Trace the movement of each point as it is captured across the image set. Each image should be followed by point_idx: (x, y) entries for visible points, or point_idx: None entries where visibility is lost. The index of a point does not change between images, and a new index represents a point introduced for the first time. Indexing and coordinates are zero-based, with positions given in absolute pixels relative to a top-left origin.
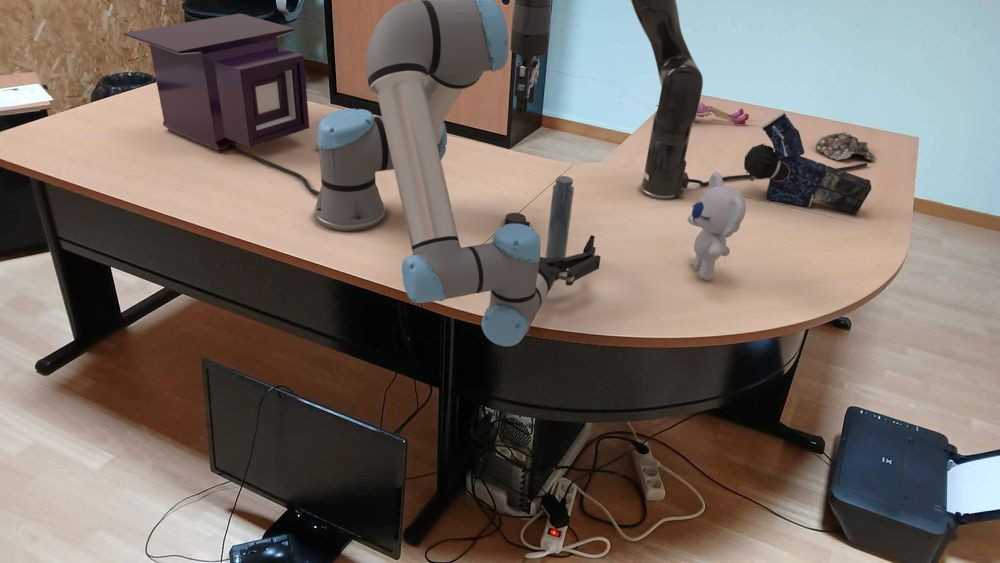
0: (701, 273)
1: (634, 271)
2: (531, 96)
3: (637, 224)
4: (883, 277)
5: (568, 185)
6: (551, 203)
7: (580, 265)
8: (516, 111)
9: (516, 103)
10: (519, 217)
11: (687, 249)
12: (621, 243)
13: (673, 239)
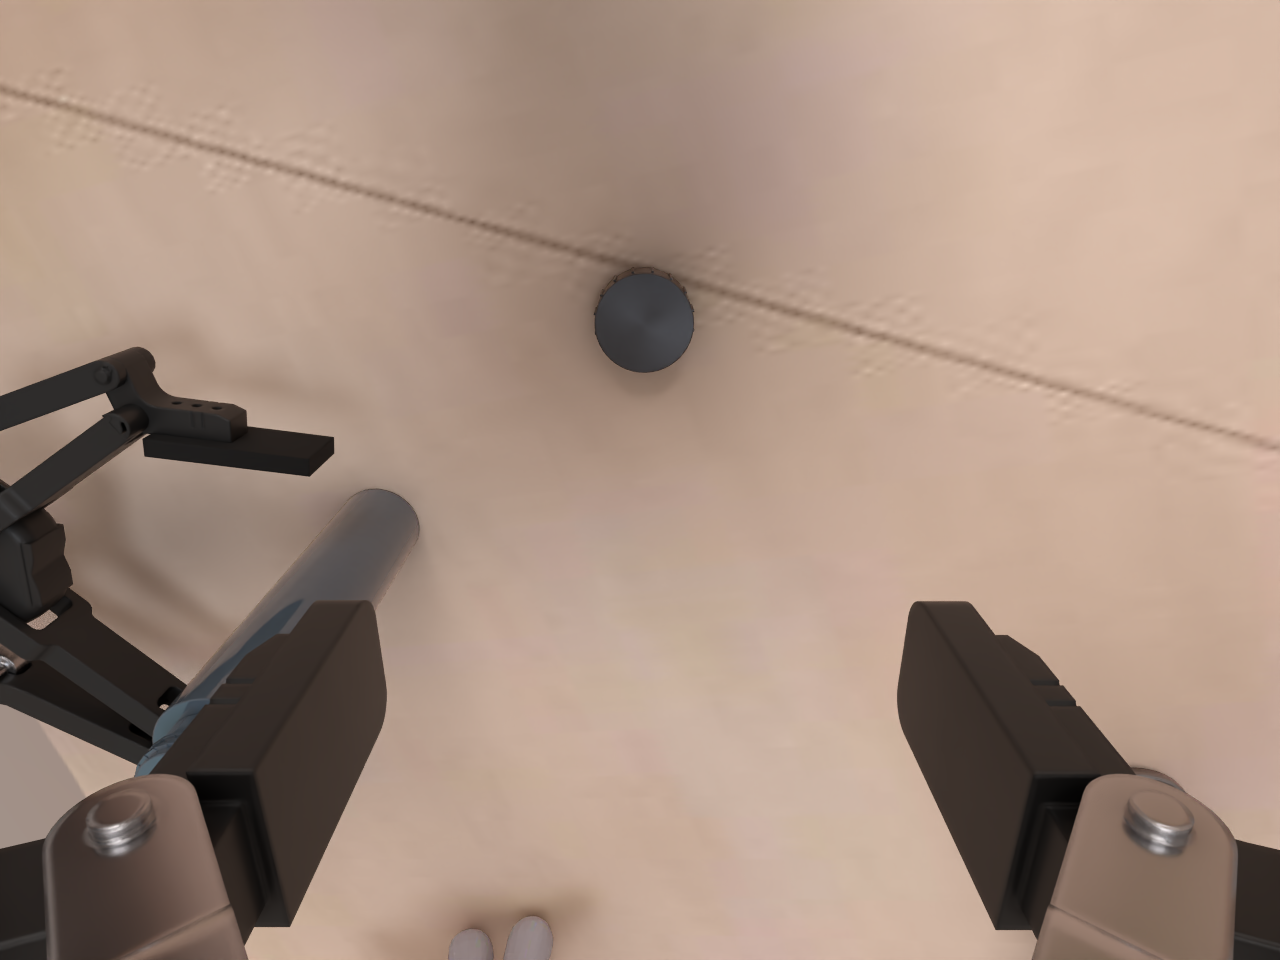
0: (455, 945)
1: (439, 767)
2: (927, 752)
3: (797, 763)
4: None
5: None
6: (237, 639)
7: (47, 715)
8: (308, 622)
9: (245, 692)
10: (644, 342)
11: (653, 896)
12: (625, 722)
13: (711, 863)
